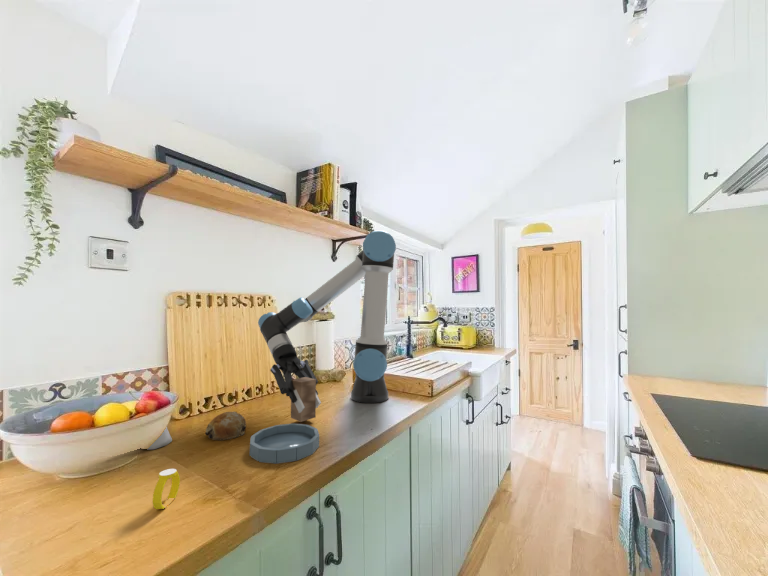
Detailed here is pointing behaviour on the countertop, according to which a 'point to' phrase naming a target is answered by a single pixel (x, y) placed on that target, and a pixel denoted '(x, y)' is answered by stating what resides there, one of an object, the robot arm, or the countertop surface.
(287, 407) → the countertop surface
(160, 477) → the watch
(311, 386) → the box
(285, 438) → the dish
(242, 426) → the bread roll
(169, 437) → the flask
